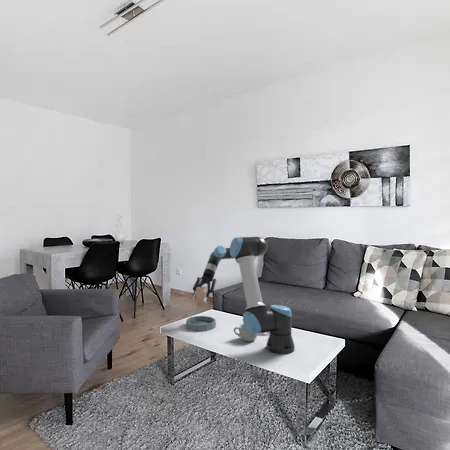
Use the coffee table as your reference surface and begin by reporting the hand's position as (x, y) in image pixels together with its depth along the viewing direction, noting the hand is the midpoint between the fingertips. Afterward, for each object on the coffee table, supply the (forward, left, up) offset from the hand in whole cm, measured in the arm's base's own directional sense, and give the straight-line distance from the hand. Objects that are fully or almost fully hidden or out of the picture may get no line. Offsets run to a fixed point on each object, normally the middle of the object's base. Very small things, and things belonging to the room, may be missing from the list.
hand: (198, 300), depth 220 cm
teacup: (-35, +7, -18) cm, 40 cm away
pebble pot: (0, -4, -3) cm, 5 cm away
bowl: (0, -4, -18) cm, 18 cm away
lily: (-42, -7, -18) cm, 46 cm away
